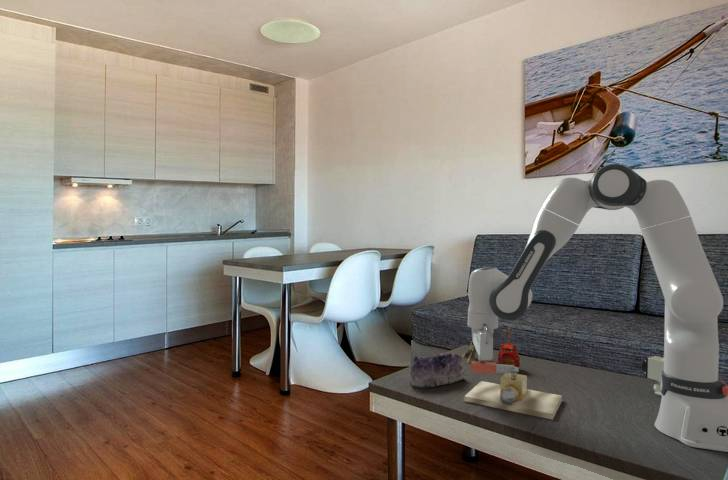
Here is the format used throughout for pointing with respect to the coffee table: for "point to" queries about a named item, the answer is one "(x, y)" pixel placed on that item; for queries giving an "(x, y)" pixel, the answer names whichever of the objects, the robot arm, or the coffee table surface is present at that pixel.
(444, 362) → the geode
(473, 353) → the eiffel tower
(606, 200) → the robot arm
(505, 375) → the valve body
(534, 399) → the base board
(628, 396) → the coffee table surface
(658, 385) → the pneumatic valve
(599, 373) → the coffee table surface
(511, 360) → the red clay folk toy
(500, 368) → the valve lever
